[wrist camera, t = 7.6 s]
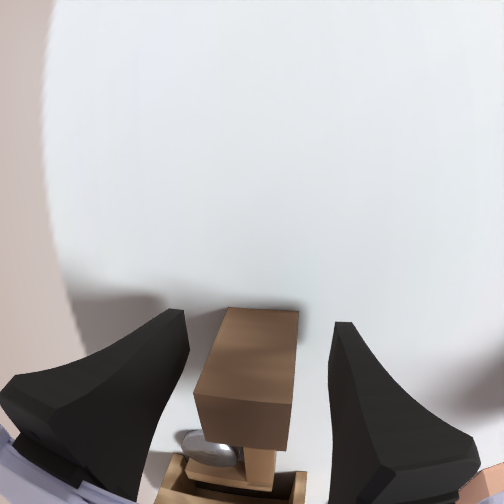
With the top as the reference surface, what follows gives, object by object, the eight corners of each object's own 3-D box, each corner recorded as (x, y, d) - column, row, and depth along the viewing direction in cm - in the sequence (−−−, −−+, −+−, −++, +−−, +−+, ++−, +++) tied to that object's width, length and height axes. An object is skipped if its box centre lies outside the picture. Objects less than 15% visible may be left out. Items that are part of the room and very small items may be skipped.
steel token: (239, 431, 17) (235, 446, 16) (242, 457, 19) (239, 470, 18) (181, 421, 18) (176, 435, 17) (191, 449, 19) (187, 461, 18)
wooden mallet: (298, 311, 13) (291, 404, 8) (282, 473, 19) (274, 527, 14) (146, 299, 14) (90, 368, 9) (194, 461, 20) (177, 510, 15)
